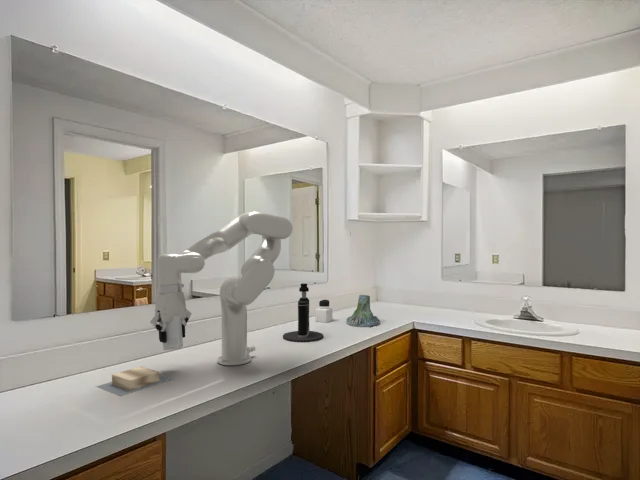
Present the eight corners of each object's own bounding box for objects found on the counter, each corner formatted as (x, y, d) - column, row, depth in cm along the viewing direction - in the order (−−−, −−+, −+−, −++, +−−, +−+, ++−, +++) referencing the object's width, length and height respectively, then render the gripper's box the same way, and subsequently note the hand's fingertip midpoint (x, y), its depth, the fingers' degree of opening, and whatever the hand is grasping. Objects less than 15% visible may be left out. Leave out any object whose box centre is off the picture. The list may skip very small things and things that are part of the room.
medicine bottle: (332, 320, 234) (332, 299, 234) (326, 322, 228) (326, 301, 228) (322, 319, 238) (321, 298, 238) (315, 321, 232) (315, 300, 232)
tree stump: (340, 326, 221) (341, 293, 225) (352, 328, 239) (353, 297, 243) (373, 327, 214) (374, 293, 218) (383, 329, 231) (383, 297, 236)
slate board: (148, 373, 143) (148, 371, 143) (173, 381, 135) (173, 378, 135) (95, 389, 128) (95, 386, 128) (120, 398, 120) (120, 396, 120)
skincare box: (183, 346, 147) (181, 312, 147) (180, 349, 143) (178, 315, 143) (165, 347, 147) (164, 313, 146) (162, 350, 142) (160, 316, 142)
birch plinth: (141, 375, 139) (141, 366, 139) (159, 381, 133) (159, 371, 133) (112, 383, 130) (112, 374, 130) (129, 390, 125) (129, 380, 125)
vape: (325, 333, 203) (324, 282, 203) (321, 342, 184) (321, 287, 184) (286, 332, 205) (286, 282, 205) (279, 341, 186) (279, 286, 186)
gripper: (184, 285, 154) (186, 332, 154) (141, 292, 139) (143, 344, 140) (197, 286, 149) (199, 335, 150) (154, 293, 135) (156, 347, 135)
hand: (172, 339), depth 145 cm, fingers closed on skincare box, 6 cm apart
